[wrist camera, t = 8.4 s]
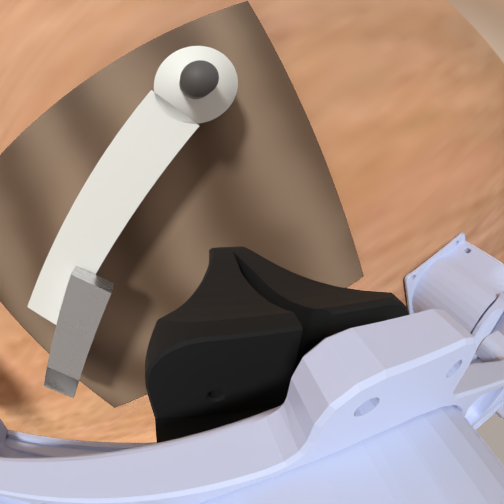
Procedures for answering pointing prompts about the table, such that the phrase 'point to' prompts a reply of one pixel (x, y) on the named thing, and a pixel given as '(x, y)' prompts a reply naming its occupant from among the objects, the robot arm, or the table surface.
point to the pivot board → (174, 193)
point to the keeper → (76, 329)
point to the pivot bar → (130, 172)
